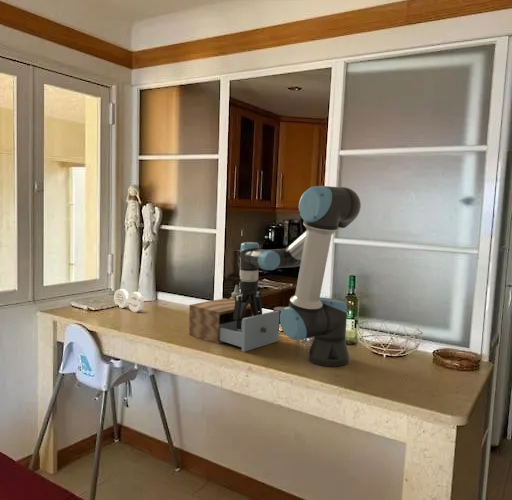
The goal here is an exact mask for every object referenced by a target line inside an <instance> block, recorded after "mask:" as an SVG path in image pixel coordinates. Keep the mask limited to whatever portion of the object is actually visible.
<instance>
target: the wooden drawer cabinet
mask: <svg viewBox="0 0 512 500" xmlns="http://www.w3.org/2000/svg"><path fill="white" fill-rule="evenodd" d="M234 307H235V301H234V300H230V298H225V297H223V298H219V299H213V300H209V301H204V302H196V303H191V304H189V311H188V312H189V315H188V316H189V318H188V322H189V323H188V325H189V327H188V329H189V330H188V335H189V336H192V337H195V338H197V339H202V340H204V341H207V342H211V343H213V344H217V345H219V344H223V343H224V342H223V341H220V340H219V324H223V323H227V322H231V321H235V320H233V314H234ZM252 316H253V312H252V309H251V306H250V303H248V305H247V306H246V310H245V313H244V316H243V318H248V317H252ZM239 318H240V317H239Z"/></svg>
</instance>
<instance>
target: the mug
mask: <svg viewBox="0 0 512 500" xmlns="http://www.w3.org/2000/svg"><path fill="white" fill-rule="evenodd" d="M285 307H286V306H275V307H274V308H273V310H272V312H273V311H279V324H280V313H281V311H282V310H283V309H284V308H285Z"/></svg>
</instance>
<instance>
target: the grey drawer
mask: <svg viewBox="0 0 512 500" xmlns="http://www.w3.org/2000/svg"><path fill="white" fill-rule="evenodd" d="M279 333H280V331H279V311H273V310H272V311H270V312H265V313H262V314H260V315H256V316H252V317H248V318H243V319H242V333H240V332H237V321H236V320H235V321H231V322H227V323H223V324H219V340H220V341H223V343H227V344H231V345H234V346H236V347H239V348H241V349H240V350H241V352H243V353H245V352H248V351H250V350H254V349H257V348H260V347H264V346H267V345H271V344H273V343H277V342H279Z"/></svg>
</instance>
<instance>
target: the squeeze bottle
mask: <svg viewBox="0 0 512 500" xmlns="http://www.w3.org/2000/svg"><path fill="white" fill-rule="evenodd" d="M240 293H241V291H240V287H239V285H238V284H235V286H234V291H233V292H231V296H230V297H229V299H230V300H234V301H235V296H236V295H237V296H239V295H240Z"/></svg>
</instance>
